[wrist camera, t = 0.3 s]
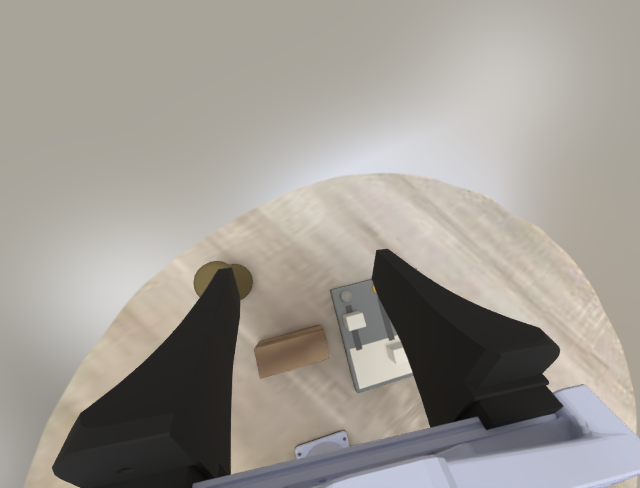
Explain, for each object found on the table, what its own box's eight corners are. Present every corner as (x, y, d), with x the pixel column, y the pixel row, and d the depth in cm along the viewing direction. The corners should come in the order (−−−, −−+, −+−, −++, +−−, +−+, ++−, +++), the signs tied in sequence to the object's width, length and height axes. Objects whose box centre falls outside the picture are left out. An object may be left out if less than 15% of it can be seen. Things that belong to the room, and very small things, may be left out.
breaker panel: (440, 362, 42) (458, 371, 38) (355, 389, 40) (362, 402, 36) (412, 268, 44) (425, 266, 40) (330, 290, 42) (334, 290, 38)
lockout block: (325, 349, 41) (330, 358, 36) (264, 367, 40) (260, 378, 35) (320, 324, 42) (323, 329, 37) (259, 341, 40) (254, 349, 35)
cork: (239, 256, 42) (219, 246, 31) (260, 286, 42) (247, 286, 31) (207, 278, 41) (175, 276, 30) (228, 309, 40) (203, 318, 30)
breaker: (404, 354, 40) (413, 359, 37) (389, 359, 40) (396, 364, 37) (401, 341, 40) (409, 345, 38) (386, 346, 40) (392, 350, 37)
